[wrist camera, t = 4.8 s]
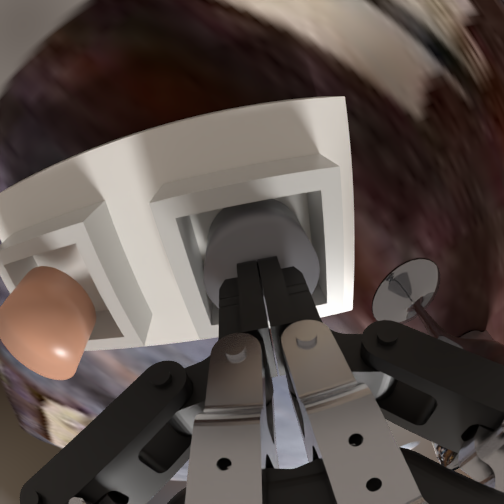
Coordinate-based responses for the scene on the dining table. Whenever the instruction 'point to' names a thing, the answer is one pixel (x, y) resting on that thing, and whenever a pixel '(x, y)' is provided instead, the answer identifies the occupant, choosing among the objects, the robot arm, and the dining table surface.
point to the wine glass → (425, 319)
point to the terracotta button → (47, 322)
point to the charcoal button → (256, 243)
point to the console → (182, 214)
